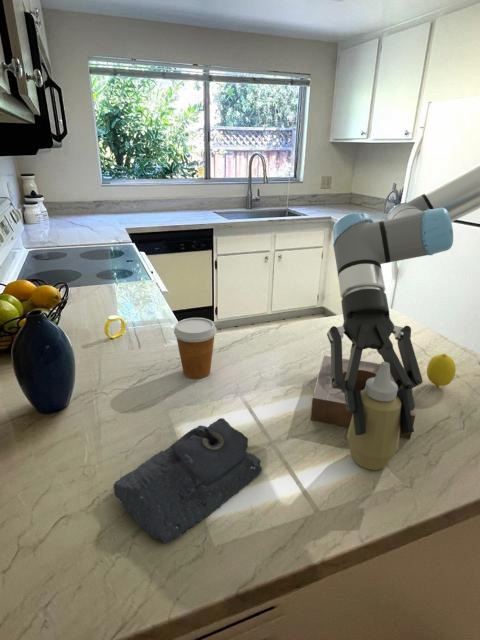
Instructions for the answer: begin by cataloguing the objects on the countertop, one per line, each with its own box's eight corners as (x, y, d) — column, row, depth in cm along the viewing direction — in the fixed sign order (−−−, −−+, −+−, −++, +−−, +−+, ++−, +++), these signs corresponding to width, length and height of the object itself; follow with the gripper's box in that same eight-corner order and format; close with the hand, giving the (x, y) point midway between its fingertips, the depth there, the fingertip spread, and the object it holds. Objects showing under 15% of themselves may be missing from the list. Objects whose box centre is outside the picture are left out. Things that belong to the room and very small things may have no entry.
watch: (121, 331, 115) (119, 312, 112) (128, 334, 113) (125, 314, 111) (104, 338, 110) (101, 318, 108) (110, 341, 109) (107, 321, 106)
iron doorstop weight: (100, 491, 61) (96, 466, 59) (208, 425, 76) (207, 404, 74) (161, 555, 51) (158, 528, 49) (271, 466, 66) (272, 442, 64)
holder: (405, 387, 88) (408, 367, 86) (411, 439, 72) (416, 416, 70) (321, 374, 93) (323, 355, 92) (309, 420, 77) (311, 398, 75)
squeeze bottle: (366, 482, 62) (383, 382, 55) (334, 449, 69) (346, 356, 62) (405, 467, 65) (426, 370, 58) (371, 437, 72) (386, 347, 65)
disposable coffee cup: (177, 384, 89) (174, 335, 84) (175, 364, 97) (172, 318, 93) (220, 380, 91) (219, 332, 86) (214, 360, 99) (213, 315, 95)
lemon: (446, 396, 85) (454, 362, 82) (420, 386, 89) (426, 354, 86) (454, 385, 89) (462, 353, 86) (428, 377, 93) (435, 345, 90)
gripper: (408, 304, 73) (435, 435, 65) (303, 305, 73) (315, 437, 64) (428, 286, 67) (460, 429, 58) (311, 286, 66) (326, 431, 57)
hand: (384, 433), depth 61 cm, fingers closed on squeeze bottle, 6 cm apart
